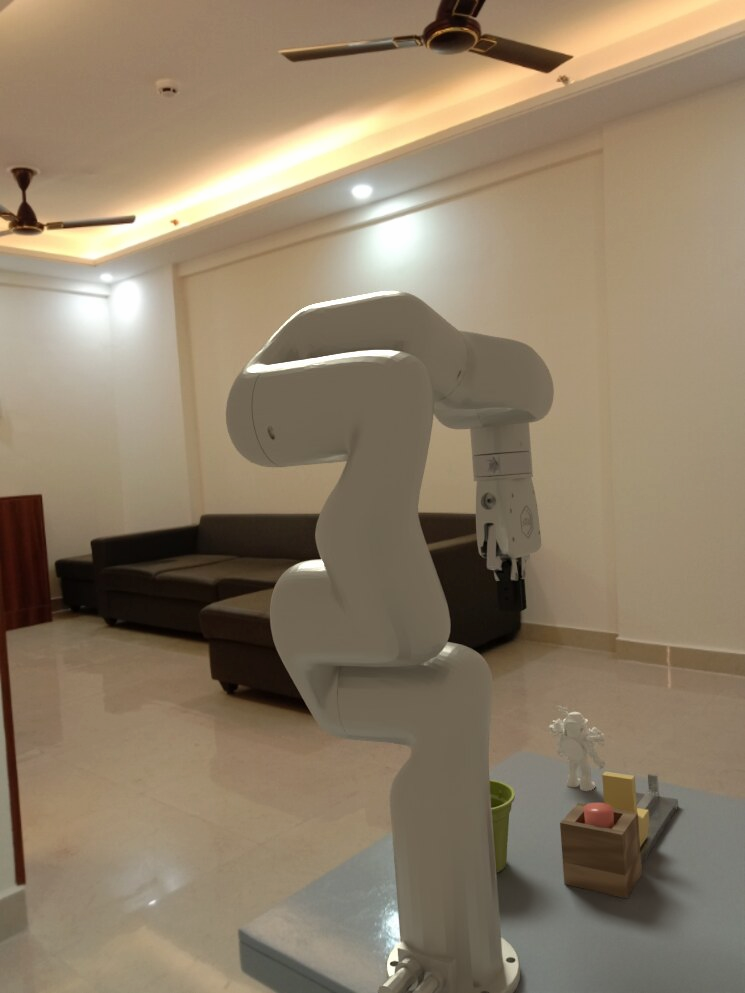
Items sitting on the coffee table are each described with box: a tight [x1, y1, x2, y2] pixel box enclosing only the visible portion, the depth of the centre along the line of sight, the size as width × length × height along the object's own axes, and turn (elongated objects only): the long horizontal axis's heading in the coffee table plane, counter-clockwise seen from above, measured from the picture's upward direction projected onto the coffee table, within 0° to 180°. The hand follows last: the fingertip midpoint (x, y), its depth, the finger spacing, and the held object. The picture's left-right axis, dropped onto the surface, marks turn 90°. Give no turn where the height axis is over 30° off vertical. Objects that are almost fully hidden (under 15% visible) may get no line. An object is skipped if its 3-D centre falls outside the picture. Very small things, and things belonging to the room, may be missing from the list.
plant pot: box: [490, 779, 516, 874], centre depth 95 cm, size 9×9×9 cm
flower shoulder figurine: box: [548, 703, 606, 792], centre depth 116 cm, size 9×4×12 cm, turn 39°
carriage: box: [601, 771, 650, 847], centre depth 96 cm, size 5×5×8 cm
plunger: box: [584, 802, 614, 829], centre depth 90 cm, size 3×3×5 cm
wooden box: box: [559, 802, 643, 899], centre depth 90 cm, size 6×7×7 cm
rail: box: [636, 773, 679, 867], centre depth 101 cm, size 19×6×4 cm, turn 146°
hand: (512, 610), depth 102 cm, fingers closed
